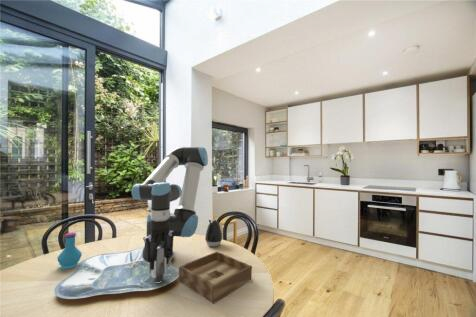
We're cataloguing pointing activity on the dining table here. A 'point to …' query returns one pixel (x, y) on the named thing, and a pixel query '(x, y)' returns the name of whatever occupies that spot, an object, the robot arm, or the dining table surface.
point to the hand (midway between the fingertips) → (158, 274)
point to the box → (212, 265)
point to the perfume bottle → (69, 253)
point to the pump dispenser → (213, 234)
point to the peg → (159, 264)
